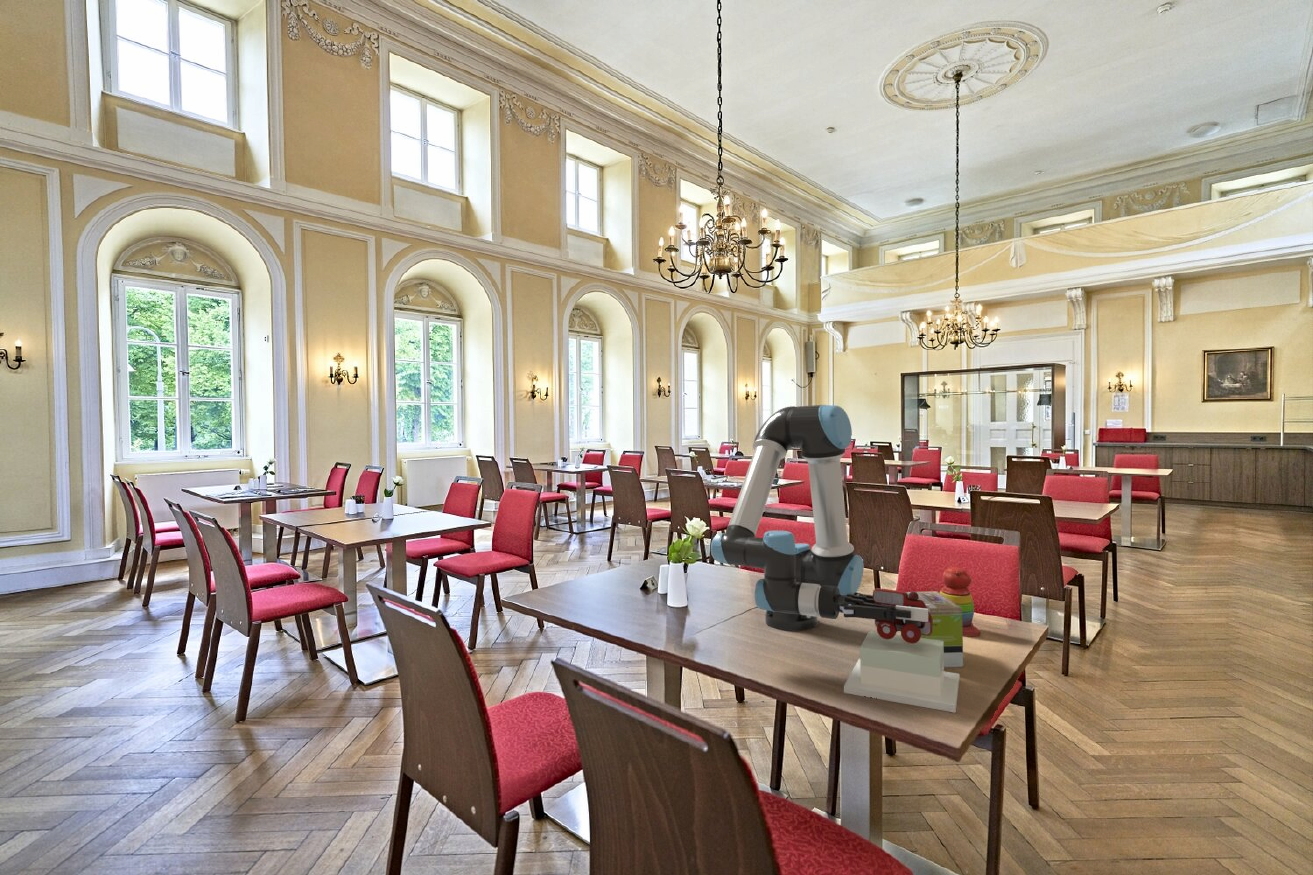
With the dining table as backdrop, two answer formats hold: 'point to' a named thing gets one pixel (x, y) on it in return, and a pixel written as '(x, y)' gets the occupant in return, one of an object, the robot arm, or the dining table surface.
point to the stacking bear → (960, 597)
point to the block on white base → (904, 673)
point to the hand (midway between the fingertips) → (928, 613)
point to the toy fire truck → (910, 628)
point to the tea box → (945, 626)
